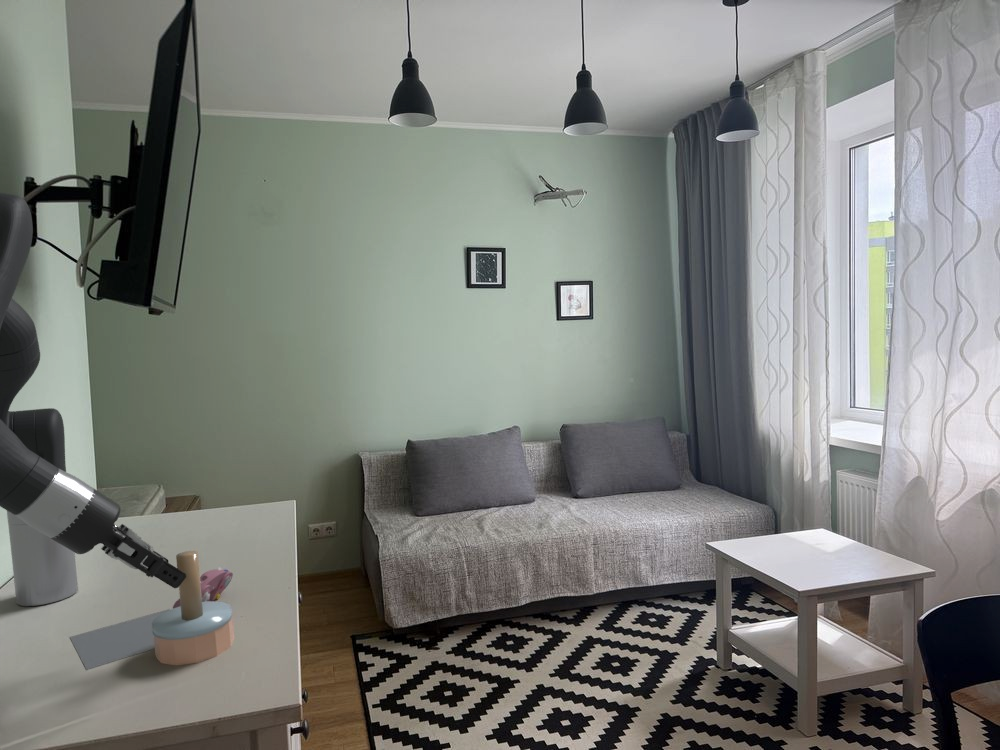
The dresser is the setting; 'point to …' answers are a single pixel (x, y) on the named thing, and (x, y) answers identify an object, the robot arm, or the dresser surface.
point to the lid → (191, 606)
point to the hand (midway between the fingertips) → (172, 574)
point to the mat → (115, 641)
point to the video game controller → (212, 584)
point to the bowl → (195, 646)
